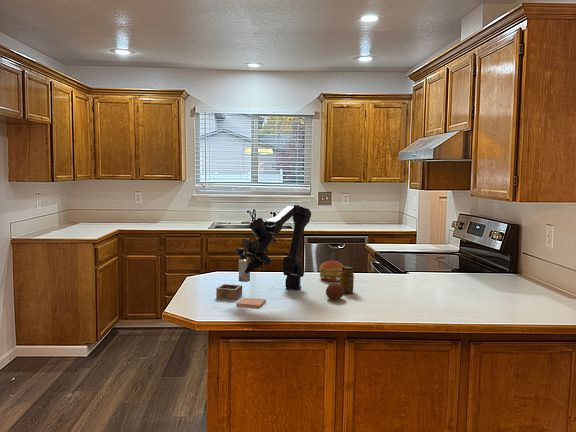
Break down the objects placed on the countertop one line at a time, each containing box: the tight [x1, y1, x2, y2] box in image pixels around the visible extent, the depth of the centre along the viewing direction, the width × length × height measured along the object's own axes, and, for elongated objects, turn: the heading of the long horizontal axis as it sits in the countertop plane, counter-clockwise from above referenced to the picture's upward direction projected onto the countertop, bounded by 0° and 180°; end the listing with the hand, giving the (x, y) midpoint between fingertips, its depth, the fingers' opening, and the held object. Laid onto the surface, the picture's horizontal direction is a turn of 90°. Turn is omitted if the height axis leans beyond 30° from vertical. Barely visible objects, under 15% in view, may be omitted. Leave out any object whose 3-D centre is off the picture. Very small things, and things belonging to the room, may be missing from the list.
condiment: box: [339, 265, 358, 296], centre depth 246 cm, size 7×8×12 cm
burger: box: [319, 260, 345, 282], centre depth 274 cm, size 14×14×10 cm
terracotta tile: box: [235, 297, 267, 309], centre depth 224 cm, size 10×10×1 cm
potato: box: [325, 282, 345, 300], centre depth 235 cm, size 8×11×8 cm
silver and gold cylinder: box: [238, 258, 251, 283], centre depth 225 cm, size 5×5×9 cm
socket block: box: [215, 283, 243, 301], centre depth 236 cm, size 9×9×4 cm
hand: (241, 271), depth 224 cm, fingers closed on silver and gold cylinder, 5 cm apart
